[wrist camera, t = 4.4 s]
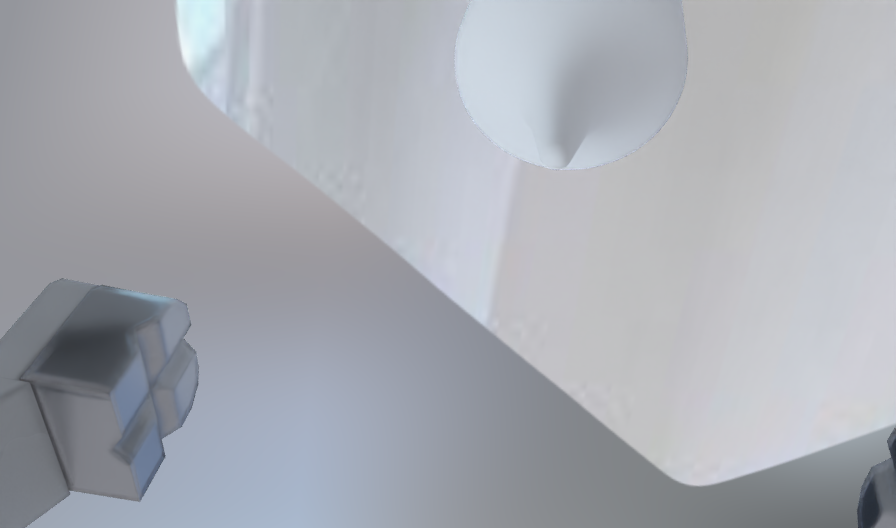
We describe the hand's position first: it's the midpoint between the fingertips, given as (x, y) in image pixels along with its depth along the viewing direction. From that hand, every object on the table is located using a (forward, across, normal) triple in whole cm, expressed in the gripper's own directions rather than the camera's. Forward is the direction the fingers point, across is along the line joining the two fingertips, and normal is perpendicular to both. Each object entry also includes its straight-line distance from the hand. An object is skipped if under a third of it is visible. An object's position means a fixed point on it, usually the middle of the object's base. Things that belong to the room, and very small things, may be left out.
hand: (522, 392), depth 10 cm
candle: (+30, 0, 0) cm, 30 cm away
